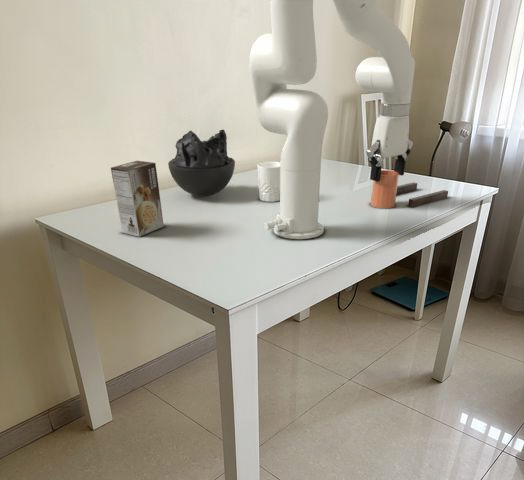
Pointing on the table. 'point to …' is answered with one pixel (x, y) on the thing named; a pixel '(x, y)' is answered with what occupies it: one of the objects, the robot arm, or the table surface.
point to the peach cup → (385, 190)
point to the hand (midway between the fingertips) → (387, 177)
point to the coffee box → (137, 197)
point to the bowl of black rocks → (202, 164)
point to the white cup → (269, 181)
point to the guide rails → (420, 199)
